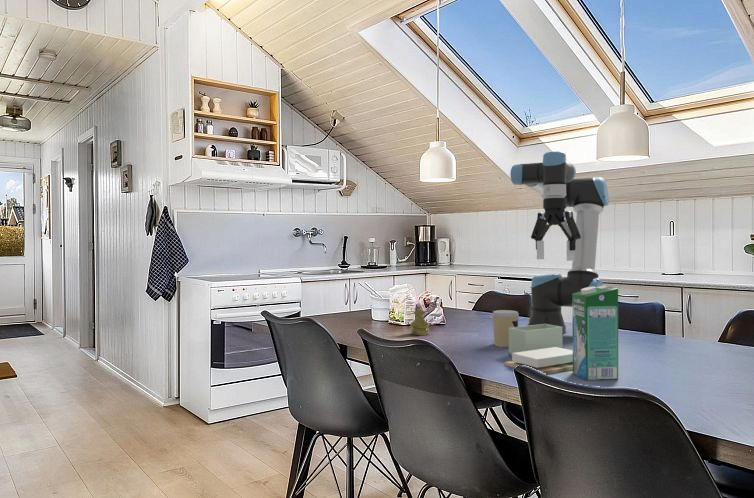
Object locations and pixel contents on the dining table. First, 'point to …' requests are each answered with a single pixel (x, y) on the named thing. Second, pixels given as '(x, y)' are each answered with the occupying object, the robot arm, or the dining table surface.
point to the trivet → (546, 367)
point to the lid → (543, 357)
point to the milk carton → (595, 332)
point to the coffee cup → (503, 326)
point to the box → (534, 337)
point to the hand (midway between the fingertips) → (554, 260)
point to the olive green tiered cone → (419, 324)
